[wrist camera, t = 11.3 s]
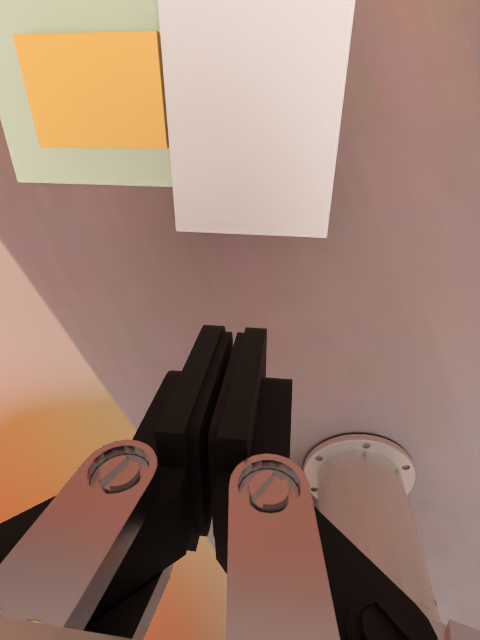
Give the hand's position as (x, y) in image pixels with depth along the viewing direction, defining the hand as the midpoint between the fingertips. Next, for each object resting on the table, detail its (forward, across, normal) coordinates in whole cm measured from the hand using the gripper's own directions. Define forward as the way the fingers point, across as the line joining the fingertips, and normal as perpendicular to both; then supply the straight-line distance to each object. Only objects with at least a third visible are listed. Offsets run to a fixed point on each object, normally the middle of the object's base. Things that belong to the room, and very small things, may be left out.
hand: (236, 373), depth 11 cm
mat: (+24, +15, -8) cm, 29 cm away
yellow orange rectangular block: (+23, +13, -8) cm, 28 cm away
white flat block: (+24, +2, -8) cm, 25 cm away
